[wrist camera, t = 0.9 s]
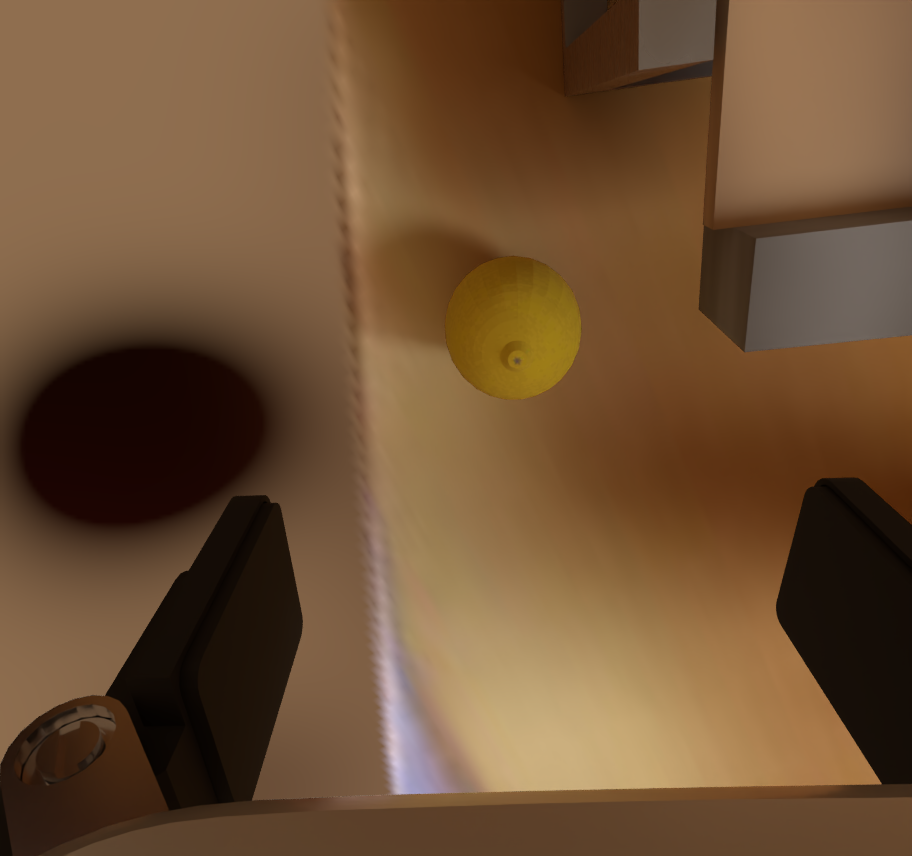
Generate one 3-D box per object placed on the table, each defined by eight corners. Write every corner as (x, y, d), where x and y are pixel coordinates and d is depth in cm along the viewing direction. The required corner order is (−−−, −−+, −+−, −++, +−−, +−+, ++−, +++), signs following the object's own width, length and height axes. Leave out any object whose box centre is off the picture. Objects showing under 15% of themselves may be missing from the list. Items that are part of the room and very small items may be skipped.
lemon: (425, 289, 29) (407, 343, 21) (524, 215, 27) (541, 248, 20) (493, 379, 30) (497, 456, 23) (589, 315, 29) (626, 377, 22)
